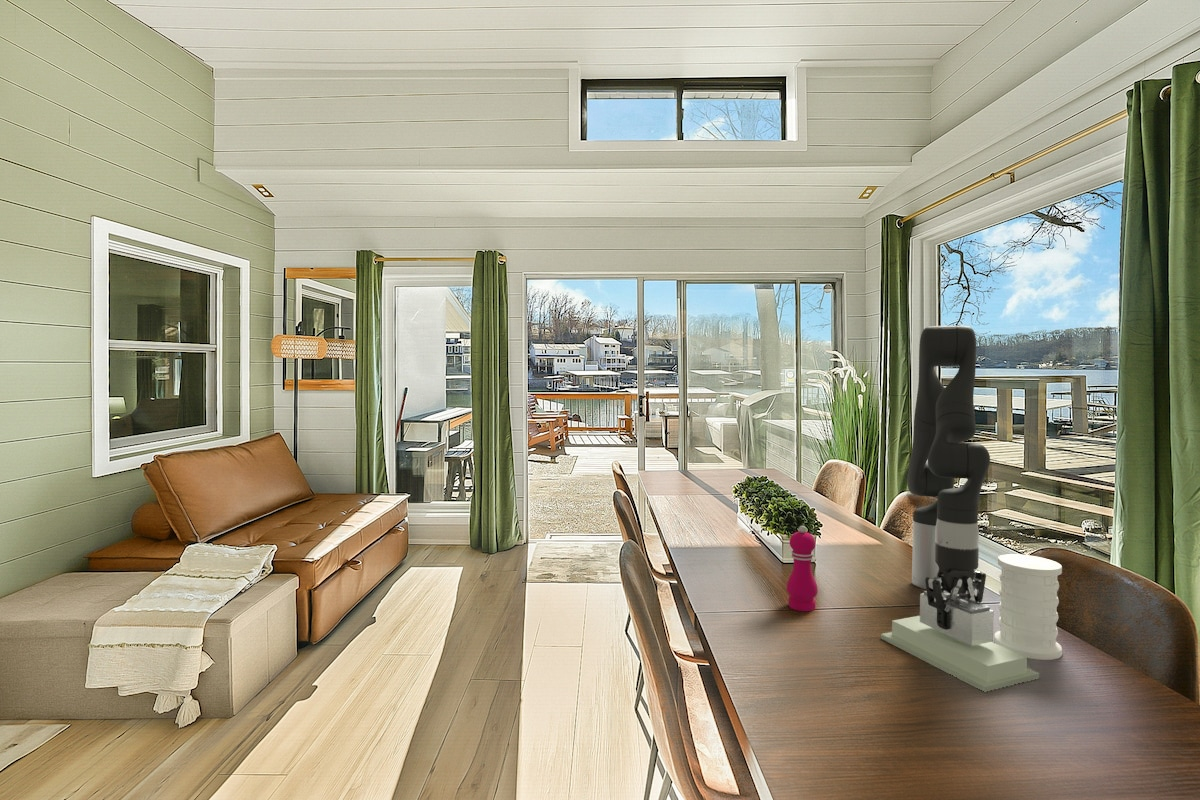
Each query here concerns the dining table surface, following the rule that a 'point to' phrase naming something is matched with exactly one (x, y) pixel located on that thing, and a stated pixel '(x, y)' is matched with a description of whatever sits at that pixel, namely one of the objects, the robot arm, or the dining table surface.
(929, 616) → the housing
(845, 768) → the dining table surface
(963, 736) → the dining table surface
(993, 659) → the stand
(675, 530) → the dining table surface
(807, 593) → the pepper mill
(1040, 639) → the decorative container
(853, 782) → the dining table surface
